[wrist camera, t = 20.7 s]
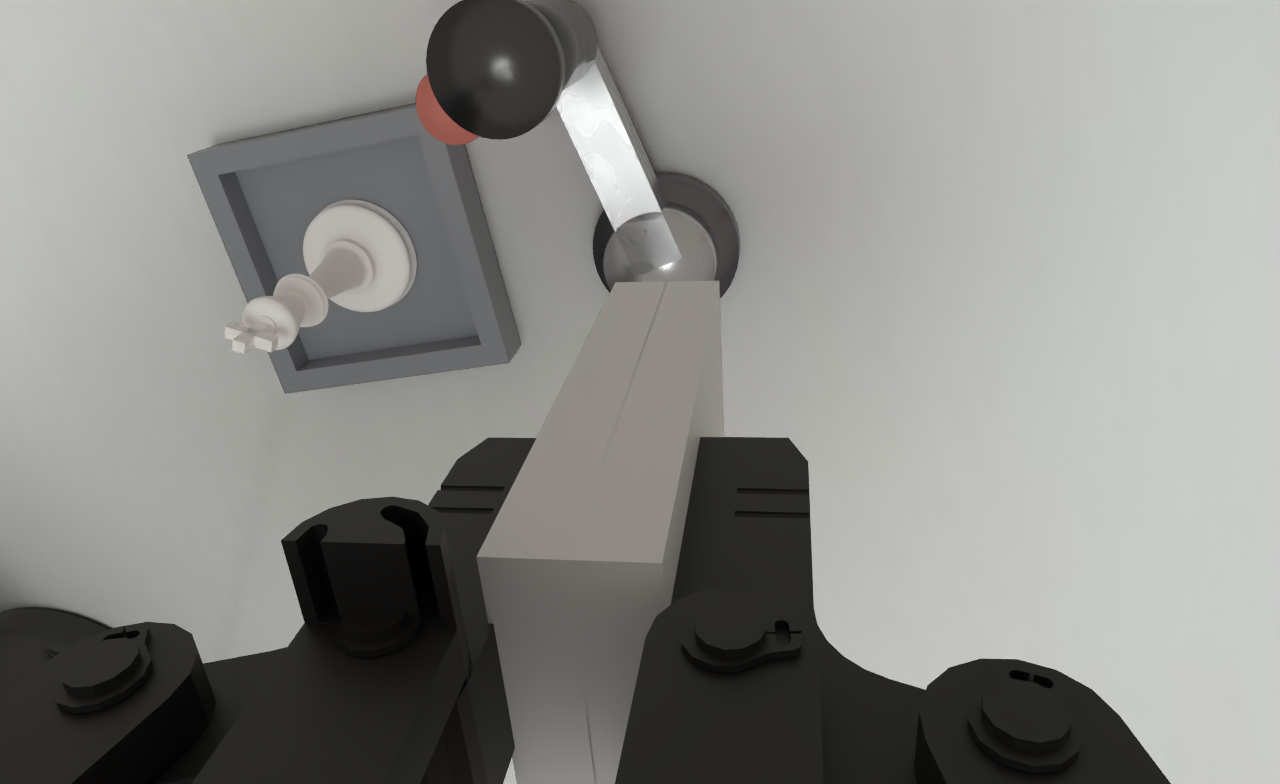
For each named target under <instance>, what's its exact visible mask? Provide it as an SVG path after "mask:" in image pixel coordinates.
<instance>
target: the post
mask: <svg viewBox="0 0 1280 784" xmlns="http://www.w3.org/2000/svg"><path fill="white" fill-rule="evenodd" d="M416 110H417V114H418V117H419V119H420V121H421V123H422V125H423V126H424V128H425V129H426V130H427V131H428V132H429V133H430V134H431V135H432V136H433V137H434V138H436V139H438V140H439V141H441V142H444V143H447V144H451V145H462V144H466V143H469V142H471V141H473V140H474V139H476V138H478V137H479V136H478V135H475V134H472V133H470V132H468V131H466V130H465V129H463V128H462V127H460V126H459V125H458V124H456V123H455V122H454V121H453V120H452V119H451V118H450V117H449V116H448V115H447V114H446V113H445V112H444V110H443V109H442V108H441V106H440V105H439V103H438V101H437V100H436V98H435V96H434V93H433V91H432V89H431V86H430V82H429V79H428V74H427V75H426V76H425V77H424V78H423V79H422V80H421V82H420V84H419V86H418V89H417V92H416Z"/></svg>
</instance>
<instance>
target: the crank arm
mask: <svg viewBox="0 0 1280 784" xmlns="http://www.w3.org/2000/svg"><path fill="white" fill-rule="evenodd" d="M426 64H427V74H428V79H429V82H430V86H431V89H432V91H433V93H434V96H435V98H436V100H437V101H438V103H439V105H440V106H441V108H442V109H443V110H444V112H445V113H446V114H447V115H448V116H449V117H450V118H451V119H452V120H453V121H454V122H455V123H456V124H458V125H459V126H460V127H462V128H463V129H465V130H466V131H468V132H470V133H472V134H475V135H478V136H480V137H484V138H489V139H509V138H513V137H517V136H519V135H522V134H524V133H526V132H528V131H530V130H531V129H533V128H534V127H535V126H537V125H538V124H539V123H541V122H542V121H543V120H545V119H546V117H547V116H548V115H549V114H550V113H551V112H552V111H553V109H554V108H555V106H556V107H557V109H558V111H559V114H560V116H561V118H562V120H563V122H564V124H565V126H566V129H567V131H568V133H569V135H570V137H571V139H572V141H573V144H574V146H575V148H576V150H577V152H578V154H579V156H580V158H581V161H582V163H583V165H584V167H585V169H586V171H587V173H588V176H589V178H590V180H591V182H592V184H593V186H594V188H595V191H596V193H597V195H598V197H599V199H600V201H601V203H602V205H603V208H604V210H605V212H606V214H607V216H608V218H609V220H610V223H611V225H612V227H613V229H614V233H613V234H612V236H611V238H610V240H609V242H608V244H607V246H606V249H605V253H604V260H603V268H604V275H605V279H606V282H607V284H608V287H609V289H610V291H611V290H612V288H613V286H614V284H615V282H670V281H714V278H715V273H716V269H717V264H718V247H717V242H716V239H715V236H714V234H713V232H712V230H711V228H710V227H709V225H708V224H707V222H706V221H705V220H704V219H703V218H702V217H701V216H700V215H699V214H698V213H696V212H695V211H693V210H692V209H690V208H688V207H686V206H684V205H681V204H678V203H674V202H667V201H666V198H665V196H664V194H663V191H662V189H661V187H660V185H659V182H658V180H657V178H656V176H655V173H654V171H653V169H652V166H651V164H650V162H649V160H648V157H647V155H646V153H645V151H644V148H643V146H642V144H641V141H640V139H639V137H638V135H637V132H636V130H635V128H634V126H633V123H632V121H631V119H630V116H629V114H628V112H627V110H626V107H625V105H624V103H623V101H622V98H621V96H620V94H619V91H618V89H617V87H616V85H615V82H614V80H613V78H612V76H611V73H610V71H609V69H608V66H607V64H606V62H605V60H604V57H603V55H602V53H601V51H600V48H599V46H598V44H597V34H596V29H595V27H594V24H593V22H592V20H591V18H590V16H589V15H588V13H587V12H586V11H585V10H584V9H583V8H582V7H581V6H580V5H579V4H577V3H576V2H574V1H572V0H529V1H523V0H463V1H460V2H458V3H457V4H455V5H454V6H452V7H451V8H450V9H449V10H447V11H446V12H445V13H444V14H443V16H442V17H441V18H440V19H439V21H438V22H437V24H436V25H435V27H434V29H433V31H432V34H431V36H430V40H429V43H428V48H427V58H426Z"/></svg>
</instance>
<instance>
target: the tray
mask: <svg viewBox="0 0 1280 784" xmlns="http://www.w3.org/2000/svg"><path fill="white" fill-rule="evenodd" d="M187 156H188V159H189V161H190V163H191V166H192V168H193V171H194V173H195V176H196V178H197V181H198V183H199V185H200V188H201V190H202V193H203V195H204V198H205V200H206V202H207V205H208V207H209V210H210V212H211V215H212V217H213V219H214V222H215V224H216V227H217V229H218V232H219V234H220V237H221V239H222V241H223V244H224V246H225V249H226V251H227V254H228V256H229V258H230V261H231V263H232V266H233V268H234V271H235V273H236V276H237V278H238V280H239V283H240V285H241V288H242V290H243V293H244V295H245V297H246V300H247V302H248V303H249V302H250V301H251V300H253V299H255V298H258V297H263V296H273V293H274V289H275V287H276V285H277V283H278V282H279V280H280V279H281V278H283V277H284V276H286V275H289V274H302V275H306V276H308V277H309V276H310V275H309V273H308V271H307V268H306V265H305V261H304V256H303V241H304V236H305V233H306V230H307V228H308V226H309V225H310V223H311V222H312V220H313V219H314V218H315V217H316V216H317V215H318V214H319V213H320V212H321V211H322V210H323V209H324V208H325V207H327V206H329V205H331V204H332V203H335V202H338V201H342V200H362V201H367V202H370V203H373V204H375V205H377V206H379V207H381V208H383V209H385V210H386V211H388V212H389V213H390V214H392V215H393V216H394V217H395V218H396V219H397V220H398V221H399V222H400V223H401V224H402V226H403V227H404V228H405V230H406V231H407V233H408V235H409V236H410V239H411V241H412V243H413V246H414V249H415V253H416V259H417V270H416V276H415V280H414V282H413V285H412V287H411V289H410V290H409V292H408V293H407V294H406V295H405V296H404V297H403V298H402V299H401V300H400V301H399V302H397V303H395V304H394V305H391V306H389V307H388V308H385V309H383V310H380V311H375V312H358V311H353V310H349V309H347V308H344V307H342V306H340V305H338V304H336V303H334V302H333V301H331V300H330V299H328V306H329V307H328V313H327V315H326V317H325V319H324V320H323V321H322V322H321V323H319V324H318V325H315V326H312V327H300V328H299V332H298V334H297V337H296V338H295V340H294V342H293V343H292V344H291V345H290V346H288V347H287V348H284V349H281V350H274V351H273V352H268V353H269V356H270V358H271V361H272V363H273V366H274V368H275V371H276V373H277V375H278V378H279V380H280V383H281V385H282V388H283V390H284V392H285V394H286V393H293V392H300V391H308V390H315V389H322V388H330V387H337V386H344V385H351V384H359V383H366V382H373V381H381V380H388V379H395V378H402V377H410V376H417V375H424V374H432V373H439V372H446V371H454V370H461V369H468V368H475V367H483V366H490V365H497V364H505V363H509V362H510V361H511V359H512V358H513V356H514V355H515V353H516V352H517V350H518V349H519V347H520V346H521V342H520V339H519V335H518V332H517V328H516V324H515V321H514V317H513V314H512V310H511V307H510V303H509V300H508V296H507V293H506V289H505V286H504V282H503V279H502V275H501V272H500V268H499V264H498V261H497V257H496V254H495V250H494V247H493V243H492V240H491V236H490V233H489V229H488V226H487V222H486V219H485V215H484V211H483V208H482V204H481V201H480V197H479V194H478V190H477V187H476V183H475V180H474V176H473V173H472V169H471V166H470V162H469V159H468V155H467V151H466V148H465V144H462V145H451V144H447V143H444V142H441V141H439V140H438V139H436V138H434V137H433V136H432V135H431V134H430V133H429V132H428V131H427V130H426V129H425V128H424V126H423V125H422V123H421V121H420V119H419V117H418V114H417V110H416V103H415V104H410V105H405V106H400V107H396V108H391V109H386V110H381V111H376V112H372V113H367V114H362V115H357V116H353V117H348V118H343V119H338V120H333V121H329V122H324V123H319V124H314V125H310V126H305V127H300V128H295V129H290V130H286V131H281V132H276V133H271V134H266V135H262V136H257V137H252V138H247V139H243V140H238V141H233V142H228V143H223V144H219V145H214V146H211V147H209V148H206V149H203V150H200V151H197V152H195V153H192V154H189V155H187Z"/></svg>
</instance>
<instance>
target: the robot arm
mask: <svg viewBox="0 0 1280 784" xmlns="http://www.w3.org/2000/svg"><path fill="white" fill-rule="evenodd" d="M281 542H282V546H283V549H284V553H285V556H286V560H287V563H288V566H289V570H290V573H291V577H292V580H293V584H294V587H295V590H296V594H297V597H298V601H299V604H300V608H301V611H302V614H303V618H304V621H305V623H304V625H303V626H302V628H301V629H300V630H299V632H298V633H297V635H296V636H295V638H294V639H293V640H292V642H291V643H290V645H289V646H288V647H286V648H282V649H278V650H274V651H270V652H264V653H259V654H253V655H248V656H242V657H237V658H232V659H226V660H221V661H215V662H210V663H204V664H203V663H202V661H201V658H200V655H199V652H198V650H197V647H196V644H195V641H194V639H193V636H192V634H191V633H189V632H187V631H186V630H184V629H182V628H180V627H178V626H177V625H175V624H167V623H155V622H144V623H139V624H133V625H127V626H122V627H116V628H113V629H107V628H105V627H103V626H101V625H98V624H96V623H94V622H91V621H89V620H86V619H84V618H81V617H78V616H74V615H71V614H67V613H63V612H58V611H53V610H46V609H17V610H11V611H6V612H3V613H0V784H503V781H504V779H505V776H506V773H507V770H508V767H509V764H510V761H511V758H513V764H514V769H515V775H516V781H517V784H1171V783H1170V782H1169V781H1168V779H1167V778H1166V777H1165V775H1164V774H1163V773H1162V771H1161V770H1160V769H1159V767H1158V766H1157V765H1156V764H1155V762H1154V761H1153V760H1152V758H1151V757H1150V756H1149V754H1148V753H1147V752H1146V750H1145V749H1144V748H1143V746H1142V745H1141V744H1140V742H1139V741H1138V740H1137V738H1136V737H1135V736H1134V734H1133V733H1132V732H1131V730H1130V729H1129V728H1128V726H1127V725H1126V724H1125V722H1124V721H1123V720H1122V718H1121V717H1120V716H1119V715H1118V714H1117V713H1116V712H1115V711H1114V710H1113V709H1112V708H1111V707H1110V706H1109V705H1108V704H1107V703H1106V702H1104V701H1103V700H1102V699H1101V698H1100V697H1099V696H1098V695H1097V694H1096V693H1095V692H1094V691H1093V690H1092V689H1090V688H1088V687H1086V686H1085V685H1083V684H1081V683H1079V682H1077V681H1075V680H1074V679H1072V678H1070V677H1068V676H1066V675H1064V674H1063V673H1061V672H1059V671H1057V670H1054V669H1050V668H1047V667H1043V666H1039V665H1036V664H1032V663H1028V662H1025V661H1021V660H1015V659H978V660H974V661H971V662H968V663H964V664H961V665H957V666H954V667H950V668H948V669H947V670H946V671H945V672H944V673H942V674H941V675H940V676H939V677H937V678H936V679H935V680H934V681H933V682H931V683H930V684H929V685H928V686H927V689H926V690H924V689H921V688H917V687H914V686H911V685H907V684H904V683H900V682H897V681H894V680H890V679H888V678H885V677H883V676H880V675H877V674H875V673H872V672H870V671H867V670H865V669H863V668H861V667H860V666H858V665H857V664H855V663H853V662H852V661H850V660H848V659H847V658H845V657H844V656H842V655H841V654H840V653H839V652H838V651H837V650H836V649H835V648H834V647H833V646H832V645H831V644H830V643H829V642H828V641H827V640H826V638H825V637H824V635H823V633H822V632H821V630H820V628H819V627H818V625H817V621H816V617H815V613H814V606H813V580H812V553H811V527H810V500H809V474H808V461H807V460H806V459H805V457H804V456H803V455H802V454H801V453H800V451H799V450H798V449H797V448H796V447H795V445H794V444H793V443H792V442H791V441H790V439H789V438H748V437H724V415H723V383H722V351H721V319H720V287H719V281H670V282H615V284H614V286H613V288H612V290H611V292H610V294H609V296H608V298H607V300H606V302H605V304H604V306H603V308H602V310H601V312H600V314H599V316H598V318H597V320H596V322H595V323H594V325H593V327H592V329H591V331H590V333H589V335H588V337H587V339H586V341H585V343H584V345H583V347H582V349H581V351H580V353H579V355H578V357H577V359H576V361H575V363H574V365H573V367H572V369H571V371H570V373H569V375H568V377H567V379H566V381H565V383H564V385H563V387H562V389H561V391H560V393H559V395H558V397H557V399H556V401H555V403H554V405H553V406H552V408H551V410H550V412H549V414H548V416H547V418H546V420H545V422H544V424H543V426H542V428H541V430H540V432H539V434H538V436H537V438H487V439H486V440H484V441H483V442H481V443H480V444H478V445H477V446H476V447H474V448H473V449H471V450H470V451H469V452H467V453H466V454H464V455H463V456H462V457H460V458H459V459H457V461H456V462H455V464H454V466H453V467H452V469H451V470H450V472H449V473H448V475H447V477H446V478H445V480H444V481H443V483H442V484H441V490H438V491H437V492H436V494H435V495H434V497H433V499H432V500H431V502H430V503H429V505H428V506H427V505H426V504H424V503H422V502H420V501H418V500H411V499H404V498H397V497H383V498H372V499H361V500H358V501H354V502H350V503H347V504H343V505H340V506H336V507H333V508H330V509H328V510H326V511H324V512H322V513H320V514H318V515H316V516H314V517H312V518H310V519H308V520H306V521H304V522H302V523H301V524H300V525H298V526H297V527H296V528H295V529H294V530H293V531H292V532H290V533H289V534H288V535H287V536H286V537H285V538H283V539H282V540H281Z"/></svg>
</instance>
